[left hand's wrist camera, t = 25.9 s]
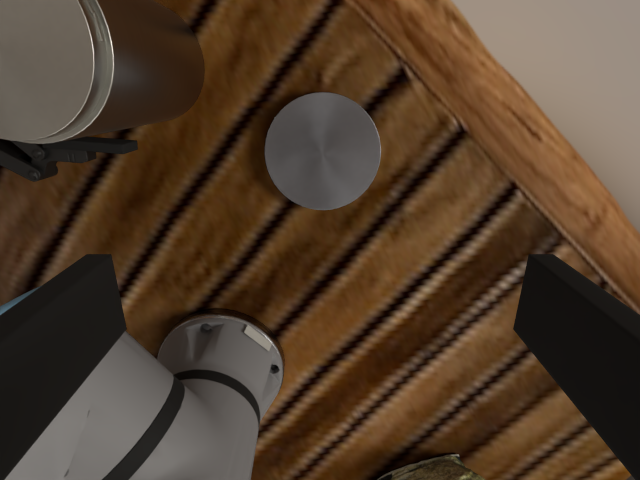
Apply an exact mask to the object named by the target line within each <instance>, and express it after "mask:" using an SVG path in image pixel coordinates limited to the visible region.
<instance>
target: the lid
mask: <svg viewBox="0 0 640 480" xmlns="http://www.w3.org/2000/svg"><path fill="white" fill-rule="evenodd" d="M380 156H381V145H380V139H379V135H378V132H377V129H376V127H375V124H374V122H373V121H372V119H371V118H370V116H369V115H368V114H367V112H366V111H365V110H364V109H363V108H362V107H361V106H360V105H358V104H357V103H355V102H354V101H353V100H351V99H349V98H347V97H345V96H342V95H339V94H335V93H330V92H317V93H311V94H307V95H304V96H301V97H299V98H297V99H295V100H293V101H291V102H290V103H289V104H287V105H286V106H285V107H284V108H283V109H282V110H281V111H280V112H279V113H278V114H277V116H276V117H275V118H274V120H273V122H272V124H271V125H270V128H269V130H268V133H267V137H266V141H265V161H266V166H267V169H268V172H269V175H270V177H271V179H272V181H273V182H274V184H275V185H276V187H277V188H278V189H279V190H280V191H281V192H282V194H283V195H285V196H286V197H287V198H288V199H290V200H291V201H293V202H294V203H296V204H298V205H301V206H303V207H306V208H310V209H316V210H329V209H335V208H339V207H342V206H345V205H347V204H349V203H351V202H352V201H354V200H355V199H357V198H358V197H359V196H361V195H362V194H363V193H364V192H365V191H366V189H367V188H368V187H369V186H370V184H371V183H372V181H373V179H374V177H375V175H376V173H377V170H378V167H379V163H380Z"/></svg>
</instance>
